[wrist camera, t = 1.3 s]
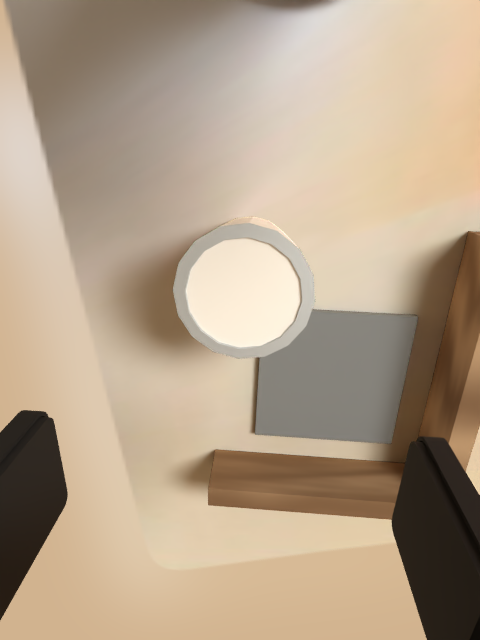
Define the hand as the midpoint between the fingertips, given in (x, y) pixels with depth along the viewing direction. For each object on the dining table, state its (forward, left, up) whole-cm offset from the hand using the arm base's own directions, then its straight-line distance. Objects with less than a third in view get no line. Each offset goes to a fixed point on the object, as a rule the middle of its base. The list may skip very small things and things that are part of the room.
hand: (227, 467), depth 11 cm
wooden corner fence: (+6, +6, -17) cm, 19 cm away
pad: (+7, +6, -17) cm, 19 cm away
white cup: (-1, 0, -17) cm, 17 cm away
